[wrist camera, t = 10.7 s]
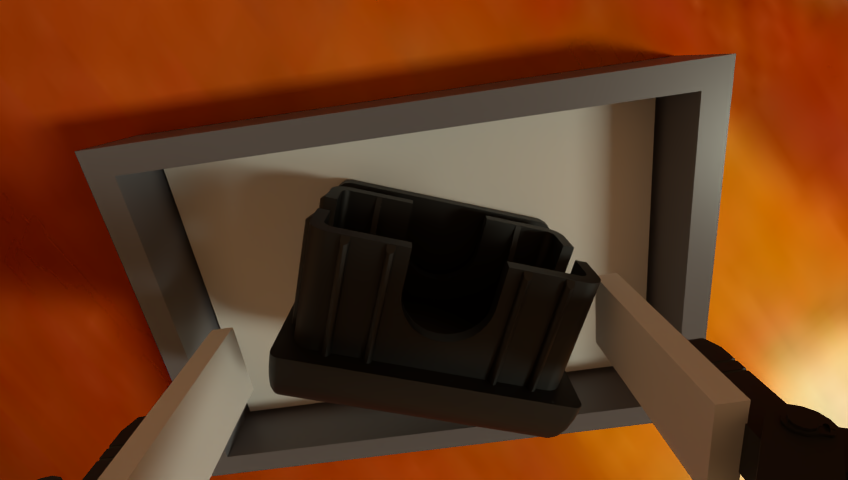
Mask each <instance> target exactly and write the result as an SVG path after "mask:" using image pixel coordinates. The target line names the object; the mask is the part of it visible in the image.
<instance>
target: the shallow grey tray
mask: <svg viewBox="0 0 848 480" xmlns="http://www.w3.org/2000/svg"><path fill="white" fill-rule="evenodd" d="M735 58H736V54H712V55H681V56H670V57H663V58H656V59H650V60H643V61H636V62H630V63H623V64H616V65H609V66H603V67H596V68H589V69H582V70H576V71H569V72H562V73H555V74H549V75H542V76H535V77H528V78H522V79H515V80H508V81H502V82H495V83H488V84H481V85H475V86H468V87H461V88H454V89H448V90H441V91H434V92H427V93H421V94H414V95H407V96H401V97H394V98H387V99H380V100H374V101H367V102H360V103H353V104H347V105H340V106H333V107H326V108H320V109H313V110H306V111H299V112H293V113H286V114H279V115H273V116H266V117H259V118H252V119H246V120H239V121H232V122H225V123H219V124H212V125H205V126H198V127H192V128H185V129H178V130H171V131H165V132H158V133H151V134H145V135H138V136H133V137H129V138H125V139H122V140H118V141H114V142H110V143H106V144H102V145H98V146H94V147H90V148H86V149H82V150H79V151H75V154H76V156H77V158H78V161H79V163H80V166H81V168H82V170H83V173H84V175H85V177H86V180H87V182H88V184H89V187H90V189H91V191H92V194H93V196H94V198H95V201H96V203H97V205H98V208H99V210H100V213H101V215H102V217H103V220H104V222H105V224H106V227H107V229H108V231H109V234H110V236H111V238H112V241H113V243H114V245H115V248H116V250H117V252H118V255H119V257H120V260H121V262H122V264H123V267H124V269H125V271H126V274H127V276H128V278H129V281H130V283H131V285H132V288H133V290H134V292H135V295H136V297H137V299H138V302H139V304H140V307H141V309H142V311H143V314H144V316H145V318H146V321H147V323H148V325H149V328H150V330H151V332H152V335H153V337H154V339H155V342H156V344H157V346H158V349H159V351H160V354H161V356H162V358H163V361H164V363H165V365H166V368H167V370H168V372H169V375H170V377H171V379H172V382H173V380H174V379H175V378H176V376H177V375H178V374H179V372H180V371H181V370H182V369H183V367H184V366H185V365H186V363H187V362H188V361H189V359H190V358H191V357H192V356H193V354H194V353H195V352H196V350H197V349H198V348H199V346H200V345H201V344H202V342H203V341H204V340H205V339H206V337H207V336H208V335H209V333H210V332H211V331H212V330H216V329H223V328H231V327H233V329H234V332H235V335H236V338H237V341H238V344H239V347H240V350H241V353H242V356H243V359H244V362H245V365H246V368H247V371H248V374H249V377H250V380H251V383H252V386H253V391H252V393H251V395H250V397H249V399H248V402H247V404H246V406H245V408H244V410H243V412H242V414H241V416H240V418H239V420H238V422H237V424H236V426H235V428H234V430H233V432H232V434H231V436H230V438H229V440H228V442H227V444H226V446H225V449H224V451H223V453H222V455H221V457H220V459H219V461H218V463H217V465H216V467H215V469H214V471H213V473H212V476H216V475H225V474H233V473H241V472H250V471H258V470H266V469H274V468H283V467H291V466H299V465H308V464H316V463H324V462H332V461H341V460H349V459H357V458H366V457H374V456H382V455H390V454H399V453H407V452H415V451H424V450H432V449H440V448H448V447H457V446H465V445H473V444H482V443H490V442H498V441H507V440H515V439H523V438H531V437H538V436H532V435H526V434H520V433H514V432H507V431H501V430H495V429H489V428H483V427H476V426H470V425H464V424H458V423H452V422H445V421H439V420H433V419H427V418H421V417H414V416H408V415H402V414H396V413H390V412H383V411H377V410H371V409H365V408H358V407H352V406H346V405H340V404H334V403H327V402H321V401H315V400H309V399H303V398H296V397H290V396H284V395H278V394H276V393H275V392H274V391H273V390H272V388H271V387H270V382H269V355H270V349H271V347H272V345H273V343H274V341H275V339H276V337H277V335H278V333H279V332H280V330H281V328H282V326H283V324H284V322H285V320H286V318H287V316H288V314H289V312H290V310H291V308H292V306H293V304H294V302H295V295H296V287H297V280H298V272H299V264H300V257H301V249H302V242H303V234H304V227H305V219H306V218H307V217H309V216H310V215H311V214H313V213H315V211H316V210H317V208H319V204H320V198H321V197H322V196H324V195H325V194H327V193H328V192H329V191H330V189H331V188H332V187H336V186H339V185H340V184H341V183H342V182H344V181H345V180H357V181H362V182H366V183H371V184H376V185H381V186H385V187H390V188H395V189H400V190H405V191H409V192H414V193H419V194H424V195H428V196H433V197H438V198H443V199H448V200H452V201H457V202H462V203H467V204H471V205H476V206H481V207H486V208H491V209H495V210H500V211H505V212H510V213H514V214H519V215H524V216H529V217H534V218H538V219H540V220H542V221H544V222H545V223H546V224H547V225H548V227H549V229H551V230H554V231H556V232H559V233H560V234H562V235H563V236H565V238H566V239H567V240H568V241H569V242H570V243H571V245H572V246H573V247H574V250H573V253H572V255H571V258H570V261H569V264H568V266H567V269H566V272H565V273H569V274H570V273H571V270H572V268H573V265H574V262H575V260H578V261H583V262H587V263H588V264H589V265H590V267H591V268H592V269H593V270H594V271H595V272H596V274H597V275H605V274H612V273H617V274H618V275H620V276H621V277H622V278H623V279H624V280H625V281H626V282H627V283H628V284H629V285H630V286H631V287H632V288H633V289H634V290H635V291H636V292H637V293H638V294H640V295H641V296H642V297H643V298H644V299H645V300H646V301H647V302H648V303H649V304H650V305H651V306H652V307H653V308H654V309H655V310H656V311H657V312H658V313H660V314H661V315H662V316H663V317H664V318H665V319H666V320H667V321H668V322H669V323H670V324H671V325H672V326H673V327H674V328H675V329H676V330H677V331H678V332H680V333H681V334H682V335H683V336H684V337H685V338H686V339H687V340H691V339H698V338H704V339H706V330H707V321H708V311H709V302H710V293H711V283H712V274H713V265H714V255H715V246H716V236H717V227H718V218H719V208H720V199H721V190H722V180H723V171H724V161H725V152H726V143H727V133H728V124H729V114H730V105H731V96H732V86H733V77H734V68H735ZM565 371H566V373H567V375H568V377H569V379H570V381H571V383H572V385H573V387H574V389H575V391H576V393H577V395H578V398H579V400H580V402H581V404H582V405H581V408H580V410H579V412H578V414H577V415H576V417H575V419H574V420H573V422H572V423H571V424H570V425H569V427H568V428H567V429H566V430H565V431H563V432H562V433H561V434H565V433H573V432H581V431H589V430H598V429H606V428H614V427H623V426H631V425H639V424H647V423H653V422H652V421H651V420H650V418H649V417H648V415H647V414H646V412H645V411H644V410H643V408H642V407H641V405H640V404H639V402H638V401H637V400H636V398H635V397H634V395H633V394H632V393H631V391H630V390H629V388H628V387H627V385H626V384H625V383H624V381H623V380H622V378H621V377H620V375H619V374H618V373H617V371H616V370H615V368H614V367H613V366H612V364H611V363H610V361H609V360H608V358H607V357H606V356H605V354H604V353H603V351H602V350H601V348H600V347H599V346H598V344H597V343H596V315H595V297H594V299H593V302H592V304H591V307H590V309H589V312H588V314H587V317H586V319H585V322H584V324H583V327H582V329H581V331H580V334H579V336H578V339H577V341H576V344H575V346H574V349H573V351H572V354H571V356H570V359H569V361H568V364H567V366H566V369H565Z"/></svg>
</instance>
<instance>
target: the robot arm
mask: <svg viewBox="0 0 848 480" xmlns="http://www.w3.org/2000/svg"><path fill="white" fill-rule="evenodd" d="M598 276H599V277H600V279H601V282H600V285H599V287H598V289H597V292H596V294H595V315H596V343H597V344H598V346H599V347H600V348H601V350H602V351H603V353H604V354H605V356H606V357H607V358H608V360H609V361H610V363H611V364H612V366H613V367H614V368H615V370H616V371H617V373H618V374H619V375H620V377H621V378H622V380H623V381H624V383H625V384H626V385H627V387H628V388H629V390H630V391H631V393H632V394H633V395H634V397H635V398H636V400H637V401H638V402H639V404H640V405H641V407H642V408H643V410H644V411H645V412H646V414H647V415H648V417H649V418H650V420H651V421H652V422H653V424H654V425H655V427H656V428H657V430H658V431H659V432H660V434H661V435H662V437H663V438H664V439H665V441H666V442H667V444H668V445H669V447H670V448H671V449H672V451H673V452H674V454H675V455H676V457H677V458H678V459H679V461H680V462H681V464H682V465H683V466H684V468H685V469H686V471H687V472H688V474H689V475H690V476H691V478H692V479H693V480H739V478H740V474H741V475H742V477H743V478H744V479H745V480H848V428H840V427H838V426H837V425H836V424H835V423H833V422H832V421H831V420H830V419H829V418H827V417H825V416H824V415H822V414H820V413H818V412H816V411H814V410H811V409H808V408H805V407H802V406H797V405H791V404H786V403H785V402H784V401H783V400H782V399H781V398H779V397H778V396H777V395H776V394H775V393H774V392H772V391H771V390H770V389H769V388H768V387H767V386H766V385H764V384H763V383H762V382H761V381H760V380H759V379H758V378H756V377H755V376H754V375H753V374H752V373H751V372H749V371H746V368H745V367H744V366H743V365H741V364H740V363H739V362H738V361H735V358H733V357H732V356H731V355H730V354H729V353H728V352H726V351H725V350H724V349H723V348H722V347H720V346H718V345H716V344H714V343H712V342H710V341H708V340H706V339H704V338H698V339H691V340H687V339H686V338H685V337H684V336H683V335H682V334H681V333H680V332H678V331H677V330H676V329H675V328H674V327H673V326H672V325H671V324H670V323H669V322H668V321H667V320H666V319H665V318H664V317H663V316H662V315H661V314H660V313H658V312H657V311H656V310H655V309H654V308H653V307H652V306H651V305H650V304H649V303H648V302H647V301H646V300H645V299H644V298H643V297H642V296H641V295H640V294H638V293H637V292H636V291H635V290H634V289H633V288H632V287H631V286H630V285H629V284H628V283H627V282H626V281H625V280H624V279H623V278H622V277H621V276H620V275H618V274H617V273H612V274H605V275H598ZM252 391H253V386H252V383H251V380H250V377H249V374H248V371H247V368H246V365H245V362H244V359H243V356H242V353H241V350H240V347H239V344H238V341H237V338H236V335H235V332H234V329H233V327H231V328H223V329H216V330H212V331H211V332H210V333H209V335H208V336H207V337H206V339H205V340H204V341H203V342H202V344H201V345H200V346H199V348H198V349H197V350H196V352H195V353H194V354H193V356H192V357H191V358H190V359H189V361H188V362H187V363H186V365H185V366H184V367H183V369H182V370H181V371H180V372H179V374H178V375H177V376H176V378H175V379H174V380H173V382H172V383H171V384H170V386H169V387H168V388H167V389H166V391H165V392H164V393H163V395H162V396H161V397H160V399H159V400H158V401H157V403H156V404H155V405H154V406H153V408H152V409H151V410H150V412H149V413H148V414H147V416H144V417H138V418H137V419H136V420H134V421H133V422H132V423H131V424H130V425H128V426H127V427H126V428H125V429H123V430H122V431H121V432H120V433H119V435H118V436H117V437H116V438H115V440H114V441H113V442H112V443H111V445H110V446H109V449H107V450H106V451H105V452H104V453H103V455H102V456H101V457H100V460H99V461H97V462H96V463H95V465H94V466H93V467H92V468H91V470H90V471H89V472H88V473H87V475H86V476H85V477H84V478H83V480H209V479H210V477H211V475H212V473H213V471H214V469H215V467H216V465H217V463H218V461H219V459H220V457H221V455H222V453H223V451H224V449H225V446H226V444H227V442H228V440H229V438H230V436H231V434H232V432H233V430H234V428H235V426H236V424H237V422H238V420H239V418H240V416H241V414H242V412H243V410H244V408H245V406H246V404H247V402H248V399H249V397H250V395H251V393H252ZM38 480H62V478H61V477H57V476H49V477H45V478H40V479H38Z"/></svg>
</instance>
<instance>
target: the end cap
mask: <svg viewBox="0 0 848 480" xmlns="http://www.w3.org/2000/svg"><path fill="white" fill-rule="evenodd" d="M573 250H574V247H573V246H572V245H571V243H570V242H569V241H568V240H567V239H566V238H565V236H563V235H562V234H560V233H559V232H556V231H554V230H551V229H549V227H548V225H547V224H546V223H545V222H544V221H542V220H540V219H538V218H534V217H529V216H524V215H519V214H514V213H510V212H505V211H500V210H495V209H491V208H486V207H481V206H476V205H471V204H467V203H462V202H457V201H452V200H448V199H443V198H438V197H433V196H428V195H424V194H419V193H414V192H409V191H405V190H400V189H395V188H390V187H385V186H381V185H376V184H371V183H366V182H362V181H357V180H345V181H344V182H342V183H341V184H340V185H339V186H336V187H332V188H331V189H330V191H329V192H328V193H327V194H325V195H324V196H322V197H321V198H320V204H319V208H317V210H316V211H315V213H313V214H311V215H310V216H309V217H307V218H306V219H305V227H304V234H303V242H302V249H301V257H300V264H299V272H298V280H297V287H296V295H295V302H294V304H293V306H292V308H291V310H290V312H289V314H288V316H287V318H286V320H285V322H284V324H283V326H282V328H281V330H280V332H279V333H278V335H277V337H276V339H275V341H274V343H273V345H272V347H271V349H270V355H269V382H270V387H271V388H272V390H273V391H274V392H275V393H276V394H278V395H284V396H290V397H296V398H303V399H309V400H315V401H321V402H327V403H334V404H340V405H346V406H352V407H358V408H365V409H371V410H377V411H383V412H390V413H396V414H402V415H408V416H414V417H421V418H427V419H433V420H439V421H445V422H452V423H458V424H464V425H470V426H476V427H483V428H489V429H495V430H501V431H507V432H514V433H520V434H526V435H532V436H538V437H545V438H550V437H554V436H557V435H559V434H561V433H562V432H563V431H565V430H566V429H567V428H568V427H569V425H570V424H571V423H572V422H573V420H574V419H575V417H576V415H577V414H578V412H579V410H580V408H581V405H582V404H581V402H580V400H579V398H578V395H577V393H576V391H575V389H574V387H573V385H572V383H571V381H570V379H569V377H568V375H567V373H566V371H565V369H566V366H567V364H568V361H569V359H570V356H571V354H572V351H573V349H574V346H575V344H576V341H577V339H578V336H579V334H580V331H581V329H582V327H583V324H584V322H585V319H586V317H587V314H588V312H589V309H590V307H591V304H592V302H593V299H594V297H595V294H596V292H597V289H598V287H599V285H600V282H601V279H600V277H599V276H598V275H597V274H596V272H595V271H594V270H593V269H592V268H591V267H590V265H589V264H588V263H587V262H583V261H578V260H575V262H574V265H573V268H572V270H571V273H570V274H569V273H565V272H566V269H567V266H568V264H569V261H570V258H571V255H572V253H573Z"/></svg>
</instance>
